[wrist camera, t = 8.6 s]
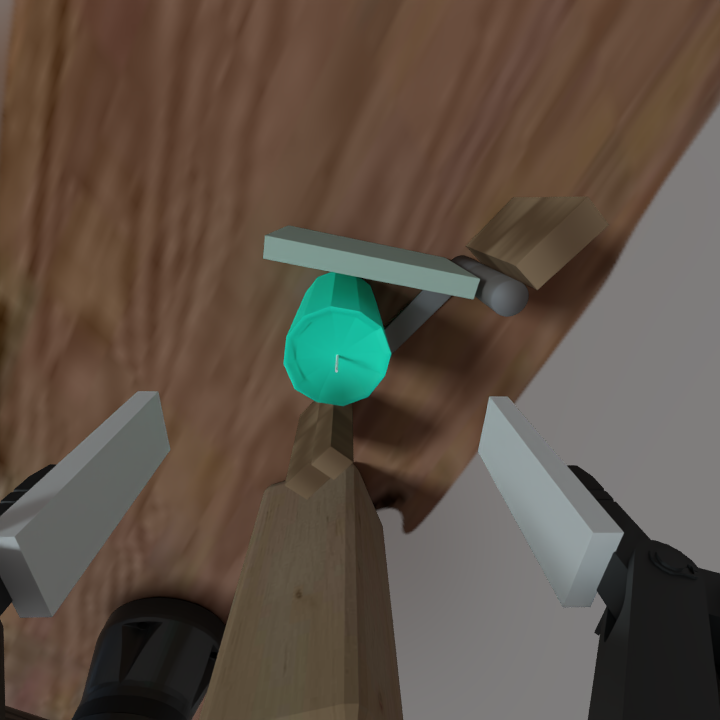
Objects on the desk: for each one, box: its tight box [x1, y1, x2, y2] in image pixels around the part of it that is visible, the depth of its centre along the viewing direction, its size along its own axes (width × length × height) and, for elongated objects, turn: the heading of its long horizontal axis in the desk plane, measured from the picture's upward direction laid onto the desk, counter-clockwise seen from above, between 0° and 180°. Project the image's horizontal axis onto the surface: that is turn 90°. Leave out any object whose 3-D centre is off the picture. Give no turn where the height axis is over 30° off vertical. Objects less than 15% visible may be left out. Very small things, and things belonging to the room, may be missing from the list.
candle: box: [284, 272, 391, 406], centre depth 24 cm, size 6×6×12 cm
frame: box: [285, 197, 609, 499], centre depth 26 cm, size 25×2×10 cm, turn 138°
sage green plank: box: [263, 226, 480, 299], centre depth 23 cm, size 12×1×8 cm, turn 79°
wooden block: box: [199, 464, 403, 720], centre depth 29 cm, size 10×10×20 cm
